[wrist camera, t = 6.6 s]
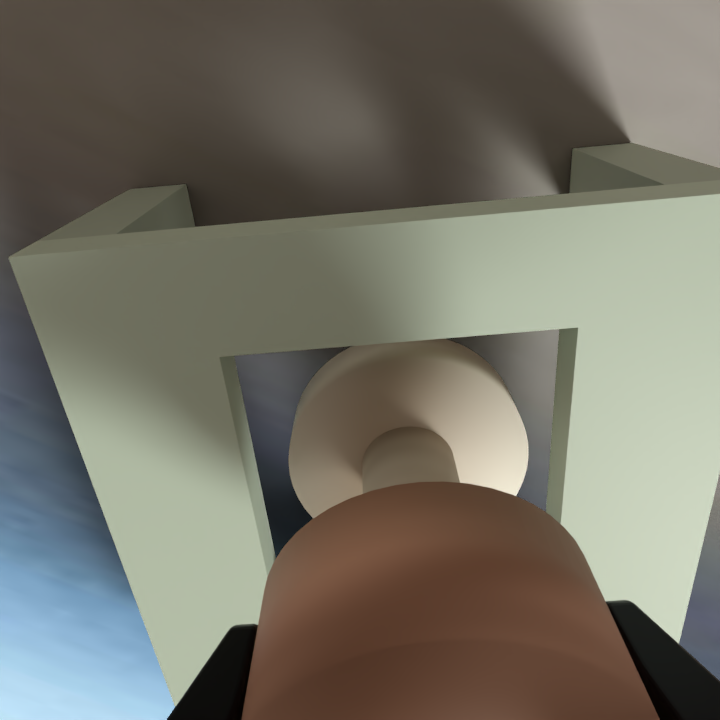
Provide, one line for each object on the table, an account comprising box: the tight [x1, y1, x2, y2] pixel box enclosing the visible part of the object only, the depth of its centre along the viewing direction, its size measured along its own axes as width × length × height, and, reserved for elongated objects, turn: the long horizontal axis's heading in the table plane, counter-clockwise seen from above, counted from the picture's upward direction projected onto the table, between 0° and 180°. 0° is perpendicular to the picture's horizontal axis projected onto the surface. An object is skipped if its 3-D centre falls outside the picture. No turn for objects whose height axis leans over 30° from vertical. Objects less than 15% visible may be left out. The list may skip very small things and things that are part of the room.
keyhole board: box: [8, 143, 720, 707], centre depth 16 cm, size 13×18×6 cm
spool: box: [241, 338, 660, 720], centre depth 10 cm, size 5×5×8 cm
